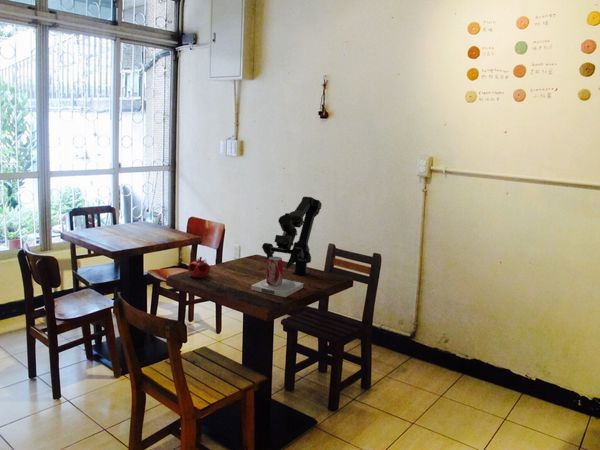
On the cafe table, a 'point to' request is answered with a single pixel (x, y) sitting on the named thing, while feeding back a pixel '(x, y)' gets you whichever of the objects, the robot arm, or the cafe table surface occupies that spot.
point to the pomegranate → (199, 268)
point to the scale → (278, 287)
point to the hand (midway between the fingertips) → (277, 267)
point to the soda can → (274, 271)
